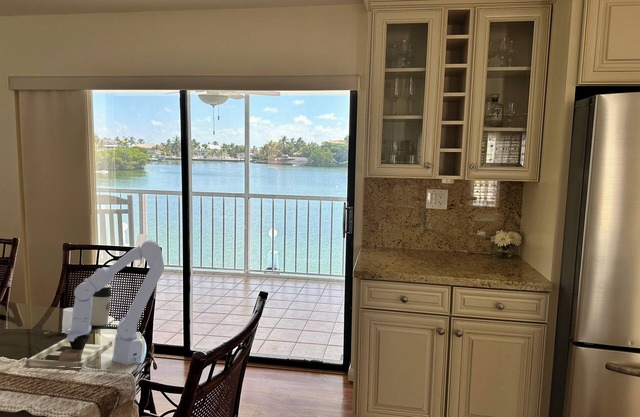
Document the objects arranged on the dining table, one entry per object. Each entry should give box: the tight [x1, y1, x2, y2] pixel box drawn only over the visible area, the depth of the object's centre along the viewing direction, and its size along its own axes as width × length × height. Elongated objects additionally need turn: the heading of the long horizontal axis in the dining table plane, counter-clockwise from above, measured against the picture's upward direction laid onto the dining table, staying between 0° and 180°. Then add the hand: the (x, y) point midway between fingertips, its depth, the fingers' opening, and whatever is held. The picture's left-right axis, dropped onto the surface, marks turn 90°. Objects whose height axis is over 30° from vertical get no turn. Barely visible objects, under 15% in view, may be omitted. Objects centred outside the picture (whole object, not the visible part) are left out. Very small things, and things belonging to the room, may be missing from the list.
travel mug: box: [90, 284, 112, 327], centre depth 201 cm, size 8×8×18 cm
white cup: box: [61, 307, 73, 335], centre depth 183 cm, size 8×8×10 cm
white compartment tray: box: [25, 337, 113, 368], centre depth 153 cm, size 27×17×3 cm, turn 6°
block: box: [58, 348, 82, 362], centre depth 144 cm, size 5×5×4 cm
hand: (76, 357), depth 149 cm, fingers closed
